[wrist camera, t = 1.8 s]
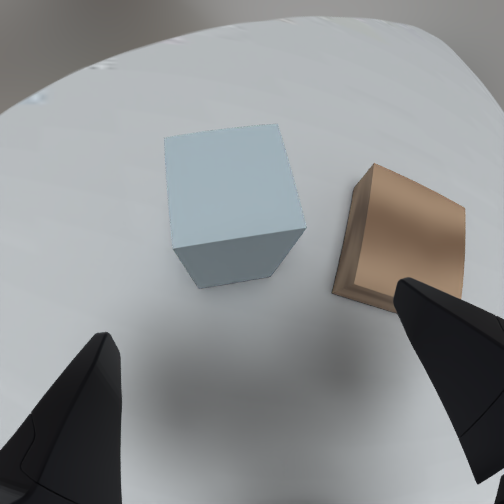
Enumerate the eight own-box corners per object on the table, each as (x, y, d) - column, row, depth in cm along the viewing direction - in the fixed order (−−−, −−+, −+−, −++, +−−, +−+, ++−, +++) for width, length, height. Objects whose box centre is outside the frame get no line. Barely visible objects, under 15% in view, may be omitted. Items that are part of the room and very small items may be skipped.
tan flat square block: (427, 322, 21) (458, 318, 17) (331, 293, 21) (353, 284, 17) (438, 224, 23) (465, 208, 19) (354, 187, 23) (374, 163, 19)
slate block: (270, 276, 21) (306, 227, 11) (198, 288, 20) (172, 248, 10) (256, 210, 22) (277, 123, 12) (189, 220, 21) (164, 137, 12)
